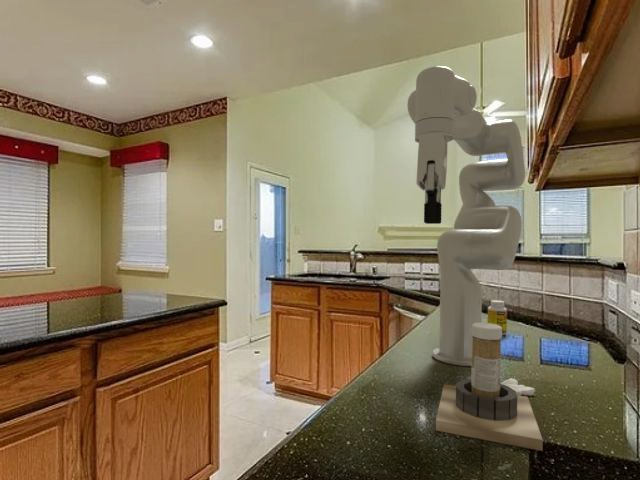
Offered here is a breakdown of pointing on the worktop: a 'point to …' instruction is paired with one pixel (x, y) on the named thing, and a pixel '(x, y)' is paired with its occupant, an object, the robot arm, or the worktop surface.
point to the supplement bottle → (498, 314)
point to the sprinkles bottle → (486, 359)
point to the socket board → (488, 416)
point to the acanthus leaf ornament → (518, 387)
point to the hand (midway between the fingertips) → (432, 223)
